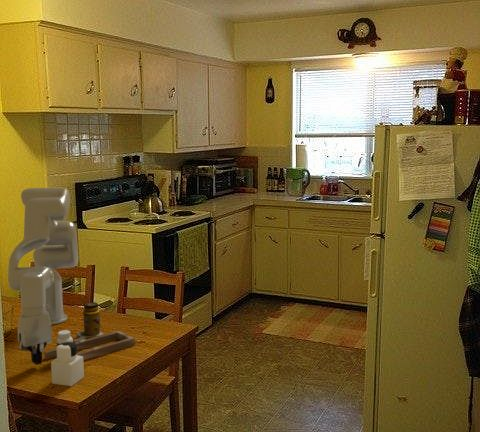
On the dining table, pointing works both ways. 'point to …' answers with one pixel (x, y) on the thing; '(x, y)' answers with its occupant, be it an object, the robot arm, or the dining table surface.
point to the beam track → (97, 351)
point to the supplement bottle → (64, 337)
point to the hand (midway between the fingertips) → (37, 363)
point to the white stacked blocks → (67, 365)
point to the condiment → (91, 321)
